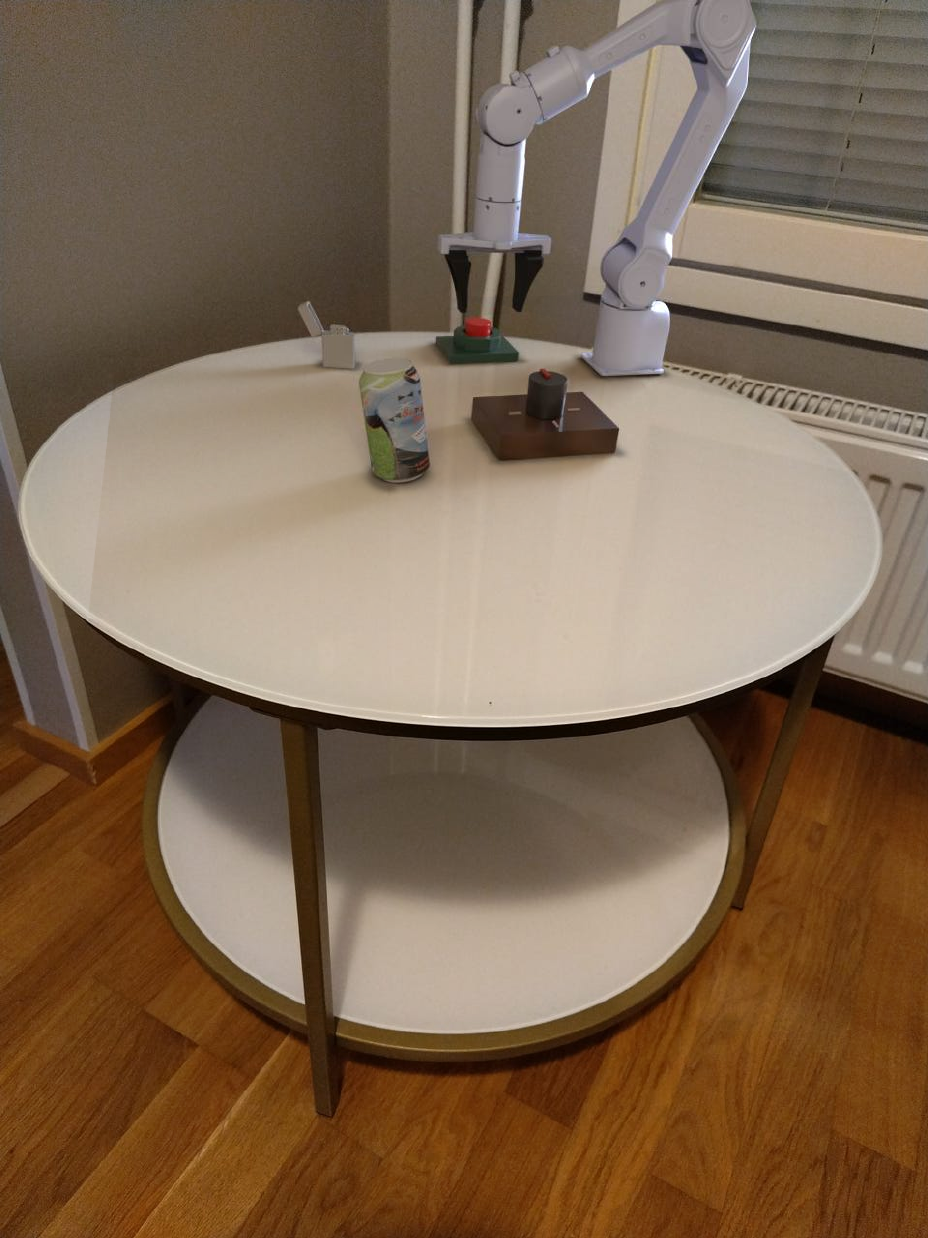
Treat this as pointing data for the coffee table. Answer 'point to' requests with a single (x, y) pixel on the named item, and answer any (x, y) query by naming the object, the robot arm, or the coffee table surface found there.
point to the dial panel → (543, 428)
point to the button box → (476, 347)
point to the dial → (546, 394)
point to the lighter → (331, 340)
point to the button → (478, 327)
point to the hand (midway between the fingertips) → (489, 310)
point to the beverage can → (394, 419)
